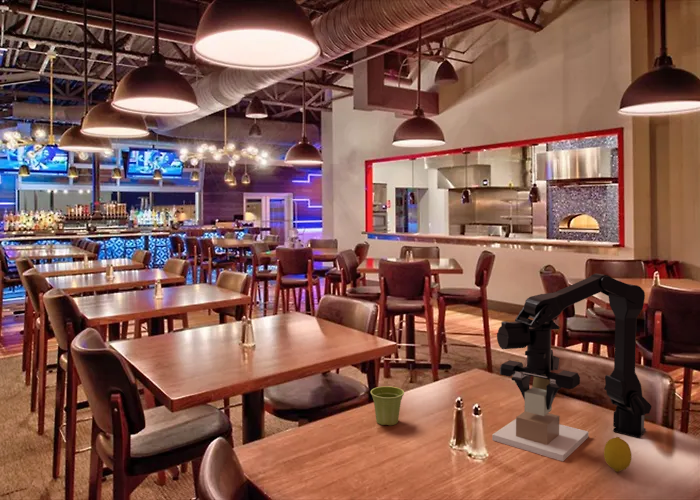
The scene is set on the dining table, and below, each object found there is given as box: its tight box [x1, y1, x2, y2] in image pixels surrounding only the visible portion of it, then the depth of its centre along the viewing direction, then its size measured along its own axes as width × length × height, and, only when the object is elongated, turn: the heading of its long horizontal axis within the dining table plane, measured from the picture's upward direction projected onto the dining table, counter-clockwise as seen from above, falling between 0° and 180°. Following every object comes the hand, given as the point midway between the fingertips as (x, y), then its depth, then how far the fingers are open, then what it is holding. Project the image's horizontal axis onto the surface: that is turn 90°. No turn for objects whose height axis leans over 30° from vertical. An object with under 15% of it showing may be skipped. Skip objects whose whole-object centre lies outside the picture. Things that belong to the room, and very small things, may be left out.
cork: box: [531, 376, 551, 390], centre depth 172 cm, size 6×6×11 cm
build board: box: [491, 411, 590, 462], centre depth 137 cm, size 18×18×6 cm
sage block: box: [523, 387, 552, 416], centre depth 135 cm, size 5×5×5 cm
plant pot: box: [370, 385, 405, 426], centre depth 149 cm, size 9×9×9 cm
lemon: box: [603, 436, 632, 473], centre depth 119 cm, size 6×6×8 cm
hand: (538, 406), depth 135 cm, fingers closed on sage block, 5 cm apart
